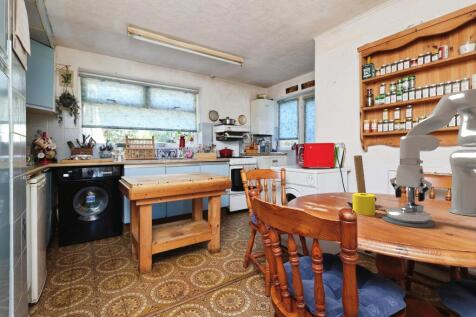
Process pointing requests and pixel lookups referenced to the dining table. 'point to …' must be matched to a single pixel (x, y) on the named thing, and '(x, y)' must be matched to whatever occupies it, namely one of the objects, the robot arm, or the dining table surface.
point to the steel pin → (411, 196)
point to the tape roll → (364, 204)
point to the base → (409, 223)
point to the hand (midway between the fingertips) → (409, 199)
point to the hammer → (359, 176)
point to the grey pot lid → (409, 214)
